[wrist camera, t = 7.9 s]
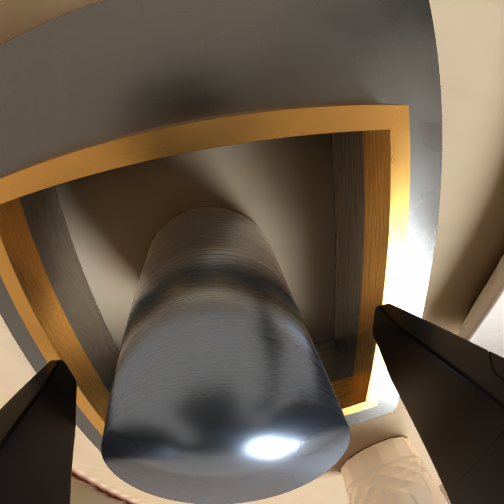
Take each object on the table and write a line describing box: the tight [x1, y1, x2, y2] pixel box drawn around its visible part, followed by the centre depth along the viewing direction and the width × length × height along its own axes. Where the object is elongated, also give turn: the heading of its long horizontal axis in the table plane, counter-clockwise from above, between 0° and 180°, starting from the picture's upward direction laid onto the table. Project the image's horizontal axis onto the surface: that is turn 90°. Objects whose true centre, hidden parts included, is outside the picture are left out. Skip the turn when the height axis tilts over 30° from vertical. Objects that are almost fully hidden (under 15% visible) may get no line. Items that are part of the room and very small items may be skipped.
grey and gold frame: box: [0, 0, 442, 452], centre depth 10 cm, size 16×19×4 cm
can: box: [101, 207, 351, 504], centre depth 9 cm, size 5×5×8 cm
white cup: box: [341, 437, 448, 504], centre depth 19 cm, size 8×8×10 cm
